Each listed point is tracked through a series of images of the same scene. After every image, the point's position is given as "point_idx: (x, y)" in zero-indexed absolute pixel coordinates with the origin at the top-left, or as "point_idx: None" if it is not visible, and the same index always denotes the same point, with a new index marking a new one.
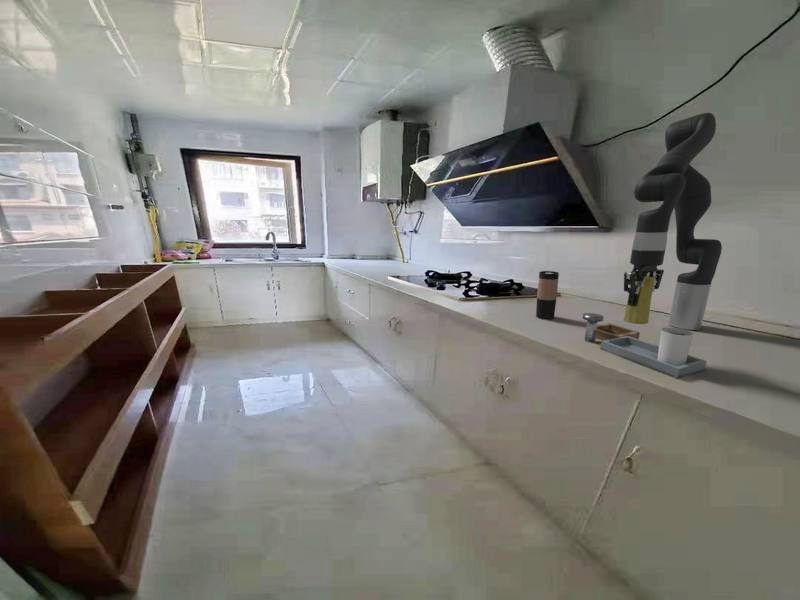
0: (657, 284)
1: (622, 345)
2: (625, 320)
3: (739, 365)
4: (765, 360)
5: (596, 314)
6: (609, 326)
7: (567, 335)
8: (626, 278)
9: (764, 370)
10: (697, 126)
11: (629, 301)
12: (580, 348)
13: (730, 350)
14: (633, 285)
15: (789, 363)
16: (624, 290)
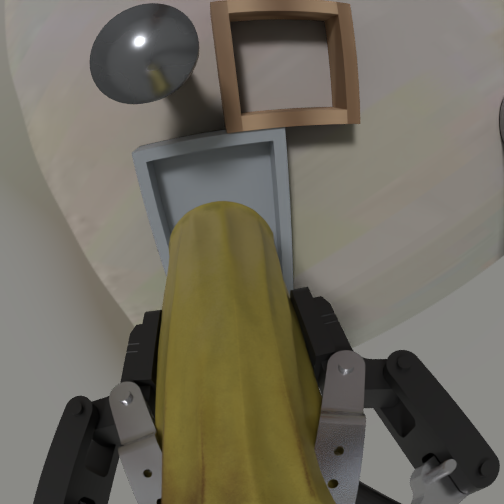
0: (385, 421)
1: (231, 148)
2: (169, 241)
3: (374, 297)
4: (429, 287)
5: (180, 35)
6: (334, 16)
7: (129, 7)
8: (49, 497)
9: (380, 315)
10: None
11: (134, 344)
12: (82, 130)
13: (443, 244)
14: (97, 471)
15: (437, 299)
16: (70, 405)
